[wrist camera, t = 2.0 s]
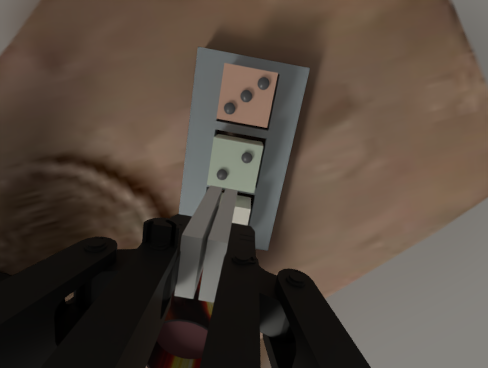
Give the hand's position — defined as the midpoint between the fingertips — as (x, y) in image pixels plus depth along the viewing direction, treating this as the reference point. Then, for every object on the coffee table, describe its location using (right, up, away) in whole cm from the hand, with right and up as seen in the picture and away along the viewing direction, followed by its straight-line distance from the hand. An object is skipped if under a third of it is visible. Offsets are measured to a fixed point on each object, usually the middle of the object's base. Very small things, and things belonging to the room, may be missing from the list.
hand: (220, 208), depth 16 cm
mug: (-6, -13, +24) cm, 28 cm away
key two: (+1, +5, +16) cm, 17 cm away
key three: (+2, +12, +14) cm, 19 cm away
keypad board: (+1, +5, +19) cm, 19 cm away
